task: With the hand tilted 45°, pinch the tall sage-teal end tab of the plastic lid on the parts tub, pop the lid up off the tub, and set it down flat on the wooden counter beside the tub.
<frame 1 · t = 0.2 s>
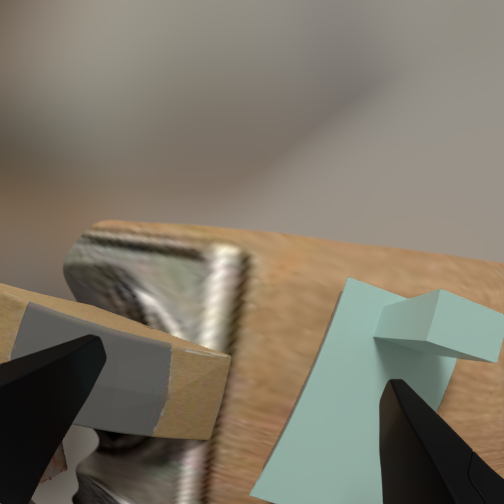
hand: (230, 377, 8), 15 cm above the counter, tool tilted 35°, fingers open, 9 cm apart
parts tub: (353, 402, 20), on the counter
food item: (48, 422, 23), on the counter
sandwich container: (144, 371, 23), on the counter
lid: (362, 414, 16), point 3 cm above the counter, touching parts tub
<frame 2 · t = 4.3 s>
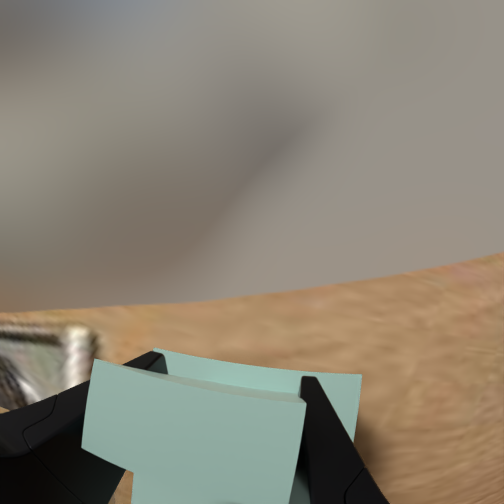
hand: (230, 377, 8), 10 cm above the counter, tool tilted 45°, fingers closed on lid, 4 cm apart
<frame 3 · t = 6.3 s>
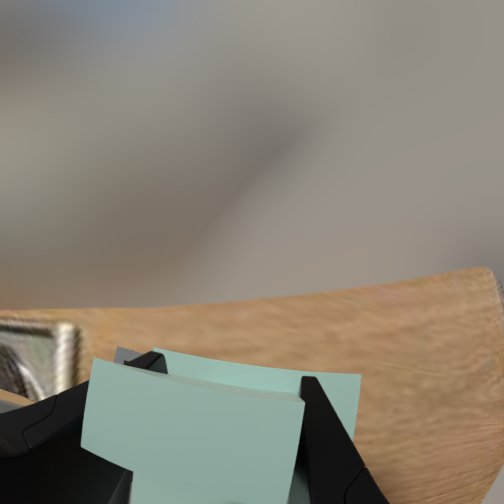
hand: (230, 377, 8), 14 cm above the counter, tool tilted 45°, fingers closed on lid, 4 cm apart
parts tub: (178, 460, 17), on the counter
sandwich container: (40, 438, 19), on the counter
when the fingers open (8 cm above the counter, at t = 8.5 s): lid drops 2 cm, on the counter.
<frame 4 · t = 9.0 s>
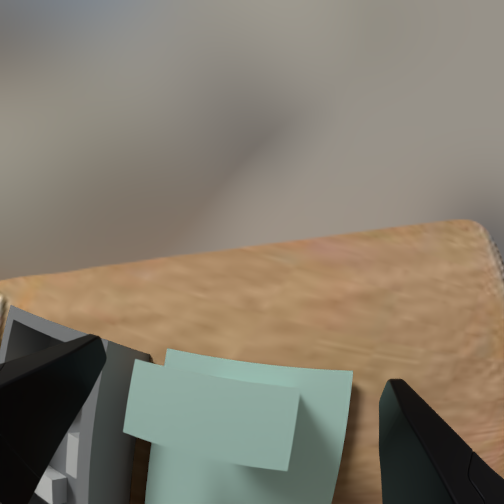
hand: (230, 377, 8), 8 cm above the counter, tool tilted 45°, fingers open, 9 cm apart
parts tub: (77, 446, 13), on the counter
lid: (238, 498, 11), on the counter
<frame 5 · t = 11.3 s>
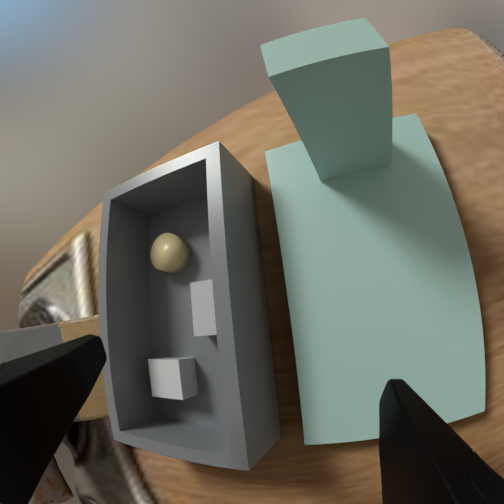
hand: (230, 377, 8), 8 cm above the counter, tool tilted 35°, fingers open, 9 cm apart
parts tub: (199, 312, 18), on the counter
food item: (50, 457, 23), on the counter
sandwich container: (83, 375, 22), on the counter
lid: (380, 275, 14), on the counter
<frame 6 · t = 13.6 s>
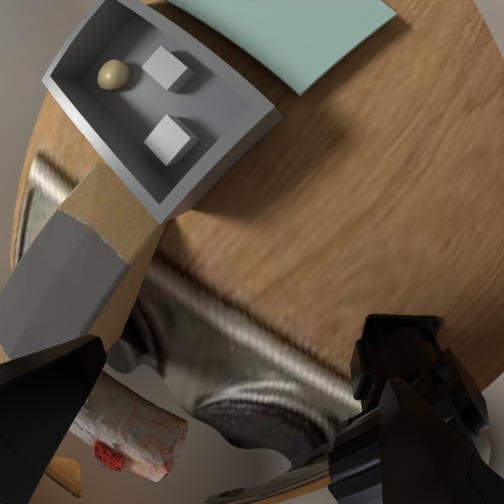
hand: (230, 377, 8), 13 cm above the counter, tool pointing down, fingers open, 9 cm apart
parts tub: (160, 92, 18), on the counter
food item: (141, 405, 30), on the counter
sandwich container: (108, 257, 24), on the counter
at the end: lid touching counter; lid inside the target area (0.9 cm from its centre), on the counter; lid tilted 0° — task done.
